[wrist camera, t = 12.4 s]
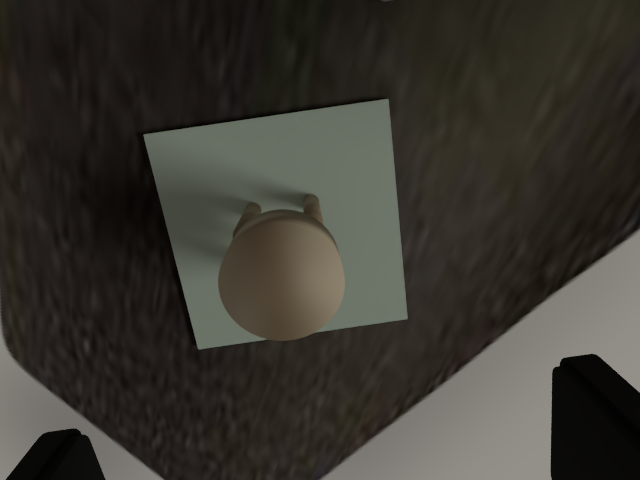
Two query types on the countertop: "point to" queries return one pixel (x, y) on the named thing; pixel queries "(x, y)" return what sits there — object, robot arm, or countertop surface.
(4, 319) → the countertop surface
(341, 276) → the round tan stool
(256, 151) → the sage mat
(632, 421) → the robot arm
